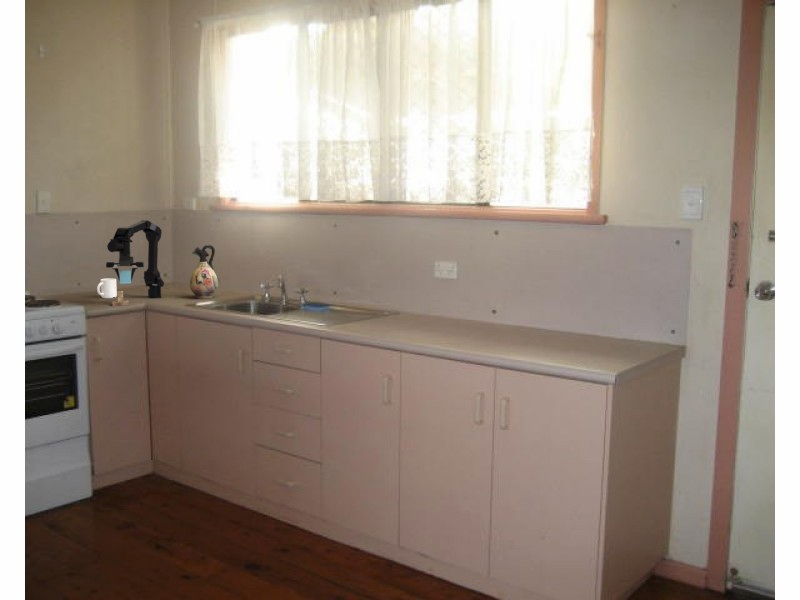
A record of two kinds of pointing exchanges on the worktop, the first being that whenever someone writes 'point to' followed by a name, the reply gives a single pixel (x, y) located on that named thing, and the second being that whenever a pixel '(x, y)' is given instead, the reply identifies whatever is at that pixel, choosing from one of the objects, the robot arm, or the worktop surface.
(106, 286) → the mug
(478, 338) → the worktop surface
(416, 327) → the worktop surface
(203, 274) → the ceramic jug
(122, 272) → the light blue block
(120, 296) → the stand
